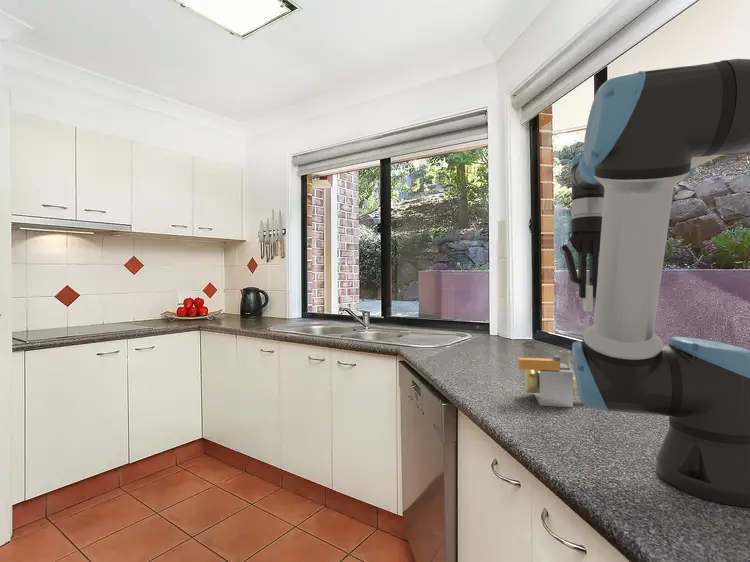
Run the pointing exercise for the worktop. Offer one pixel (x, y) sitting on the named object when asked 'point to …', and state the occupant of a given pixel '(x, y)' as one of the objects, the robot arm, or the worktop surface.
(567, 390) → the block
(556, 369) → the bar
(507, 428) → the worktop surface
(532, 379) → the pin
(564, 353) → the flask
